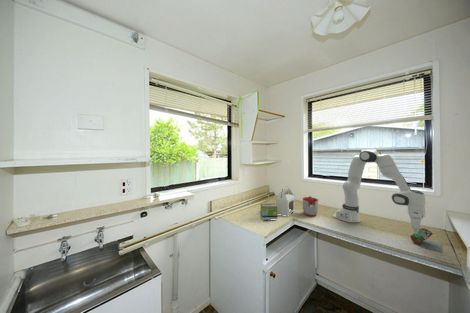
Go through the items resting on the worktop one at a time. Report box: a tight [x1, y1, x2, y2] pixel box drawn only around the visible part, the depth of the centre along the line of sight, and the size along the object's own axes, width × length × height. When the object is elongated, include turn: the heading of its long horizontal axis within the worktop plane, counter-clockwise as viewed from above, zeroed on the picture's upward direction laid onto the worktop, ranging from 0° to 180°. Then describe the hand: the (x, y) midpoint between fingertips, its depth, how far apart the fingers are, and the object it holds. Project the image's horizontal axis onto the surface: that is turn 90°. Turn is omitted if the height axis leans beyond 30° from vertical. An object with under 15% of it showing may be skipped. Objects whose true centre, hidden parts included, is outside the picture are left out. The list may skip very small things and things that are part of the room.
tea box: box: [260, 202, 278, 221], centre depth 172 cm, size 15×10×15 cm, turn 91°
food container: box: [409, 228, 434, 245], centre depth 123 cm, size 12×6×10 cm
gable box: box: [275, 186, 296, 217], centre depth 188 cm, size 22×13×28 cm, turn 143°
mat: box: [419, 239, 443, 253], centre depth 120 cm, size 10×16×1 cm, turn 131°
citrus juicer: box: [301, 195, 319, 217], centre depth 180 cm, size 16×17×20 cm
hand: (416, 230), depth 126 cm, fingers open, 8 cm apart
